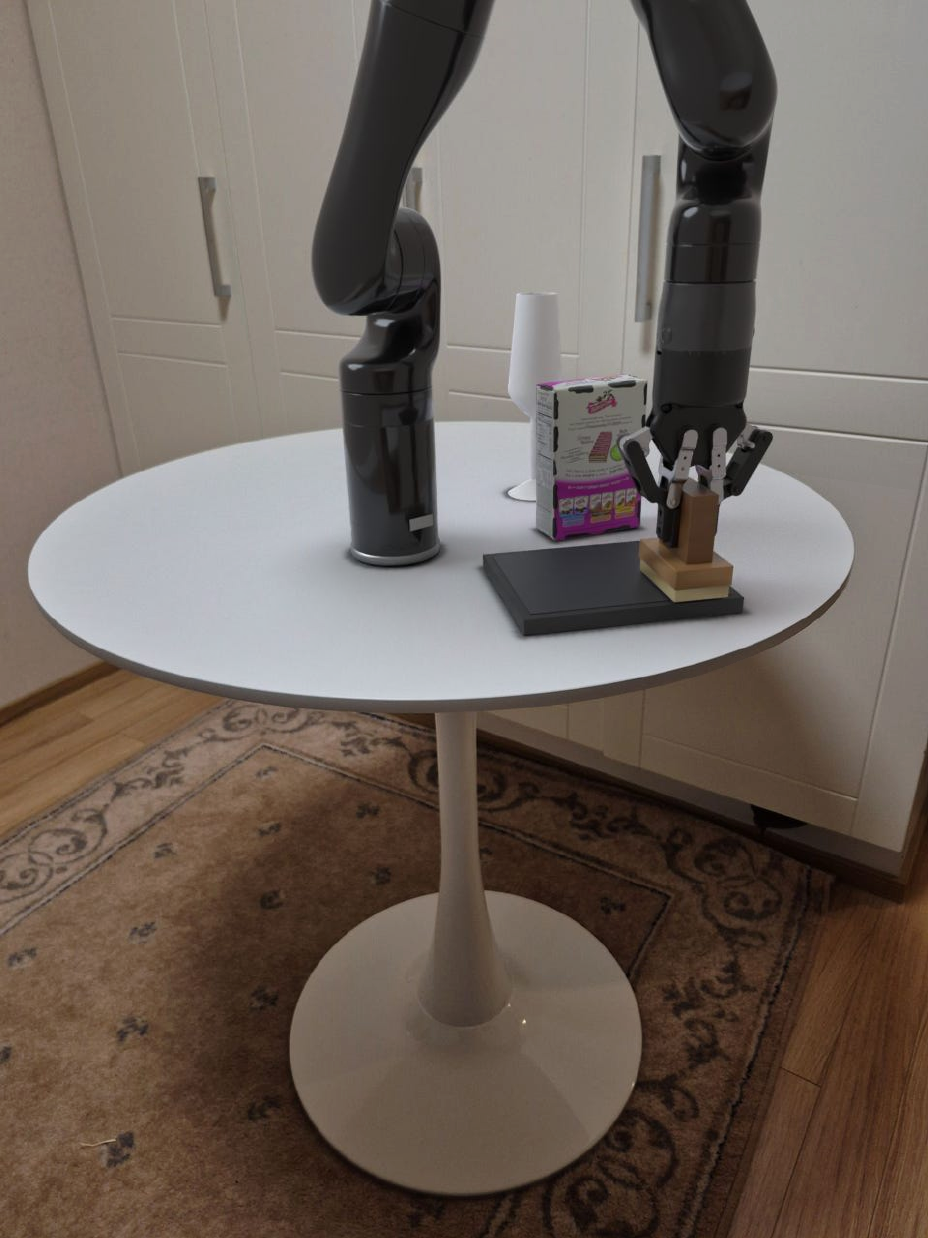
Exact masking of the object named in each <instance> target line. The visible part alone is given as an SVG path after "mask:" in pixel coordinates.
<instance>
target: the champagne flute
mask: <svg viewBox="0 0 928 1238" xmlns="http://www.w3.org/2000/svg"><path fill="white" fill-rule="evenodd" d="M515 296H516V297H515V308H514V317H513V318H514V319H513V320H514V321H513V329H512V340H511V351H510V364H509V371H508V372H509V373H508V384H507V392H508V395H509V397H510V399H511V400H512V402H513V403H514V405H515V406H516V407H517V408H518V409H519V410H520V411H521V412H522V413H524V415H526V416H528V417H529V420H530V421H529V477H528V479H526V480H524V481H523V482H521V483H519V484H518V485H516V486H515V487H513V488H511V489H510V490H508V492H507V494H508V496H509V497H511V498H514V499H516V500H521V501H531V502H536V384H540V383H549V382H558V381H564V380H563V379H564V378H563V364H562V363H563V361H562V345H561V334H560V333H561V332H560V330H561V329H560V314H559V299H558V292H551V291H529V292H528V291H526V292H518V293H516V295H515Z"/></svg>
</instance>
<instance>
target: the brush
mask: <svg viewBox="0 0 928 1238" xmlns="http://www.w3.org/2000/svg"><path fill="white" fill-rule="evenodd" d="M718 502H719V495H718V494H717V493H715V492H713V491H712V490H710V489H708V488H707V487H705V486H704V485H702V484H700V483H699V482H698V480H696V479H694V478H693V477H690V476H688V479H687V482H685V483H684V486H683V490H682V495H681V500H680V504H679V506H678V507H679V508H681V517H680V528H679V540H678V547H677V548H670V549H669V548H668V547H666V546H665V545H664V544H663V543H662V541H661V540H660V539H659V538H658V537H648V538H640V539H639V541H640V544H639V558H640V570H641V571H642V572H643V573H644V574H645V575H646V576H647V577H648V578H649V579H650V580H651V581H652V582H653V583H654V584H655V585H656V586H657V587H659V588H660V589H661V590H662V591H663V592H664V593H665V594H666V595H667V596H668V597H669V598H670V599H671V600H672V601H673V602H683V601H693V600H702V599H712V598H722V597H728V591H729V585H730V586H731V585H732V584H733V575H734V568H735V567H734V565H733V564H732V563H730V562H729V561H728V560H727V559H726V558H724V557H723V556H721V555H720V554H718V553H717V552H716V551H714V548H715V540H716V535H715V531H716V521H717V512H718Z"/></svg>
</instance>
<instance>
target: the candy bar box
mask: <svg viewBox="0 0 928 1238" xmlns="http://www.w3.org/2000/svg"><path fill="white" fill-rule="evenodd" d="M648 382H649V380H648V379H645V378H641V377H639V376H635V375H631V374H617V375H606V376H596V377H587V378H586V377H585V378H577V379H569V380H563V381H558V382H549V383H540V384H536V501H535V515H536V516H535V527H536V530H537V531H538V532H539V533H541V534H543V535H545V536H546V537H548V538H549V539H551V540H552V541H554V542H557V541H565V540H571V539H576V538H582V537H589V536H594V535H599V534H605V533H610V532H611V533H612V532H616V531H622V530H628V529H633V528H634V529H635V528H638V527H640V526H641V517H642V516H641V513H642V498H643V496H641V495H640V494H639V493H638V492H637V490H636V487H635V485H634V483H633V481H632V478H631V476H630V474H629V472H628V469H627V467H626V465H625V463H624V460H623V458H622V456H621V454H620V451H619V449H618V447H617V444H616V441H617V438H618V437H619V436H621V435H627V436H630V435H632V434H633V433H635V432H637V431H638V430H640V429H642V428H644V427H645V423H646V420H647V416H646V415H647V401H648Z"/></svg>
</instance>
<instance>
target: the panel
mask: <svg viewBox="0 0 928 1238" xmlns="http://www.w3.org/2000/svg"><path fill="white" fill-rule="evenodd" d="M639 544H640V540H632V541H631V540H629V541H619V542H609V543H608V542H607V543H597V544H585V545H574V546H573V545H572V546H563V547H562V546H561V547H552V548H541V549H530V550H518V551H508V552H506V551H505V552H496V553H486V554H484V553H483V554H482V569H483V571H484V572H485V574H486V576H487V577H488V579H489V580H490V582H491V584H492V585H493V587H494V589H495V590H496V592H497V594H498V596H499V597H500V599H501V601H502V602H503V604H504V605H505V607H506V609H507V611H508V613H509V614H510V615H511V617H512V619H513V620H514V622H515V624H516V626H517V627H518V629H519V630H520V632H521V634H522V635H523V636H525V637H526V636H534V635H544V634H553V633H562V632H571V631H582V630H590V629H591V630H592V629H600V628H609V627H618V626H627V625H628V626H629V625H637V624H647V623H656V622H665V621H675V620H684V619H685V620H686V619H694V618H702V617H711V616H712V617H713V616H721V615H731V614H741V613H743V610H744V604H745V603H744V602H745V596H744V595H742V594H741V593H740V592H739V591H737V589H735V588H734V587H732V586H731V585H729V591H728V597H722V598H712V599H702V600H693V601H683V602H673V601H672V600H671V599H670V598H669V597H668V596H667V595H666V594H665V593H664V592H663V591H662V590H661V589H660V588H659V587H657V586H656V585H655V584H654V583H653V582H652V581H651V580H650V579H649V578H648V577H647V576H646V575H645V574H644V573H643V572H642V571H641V570H640V558H639Z"/></svg>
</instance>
